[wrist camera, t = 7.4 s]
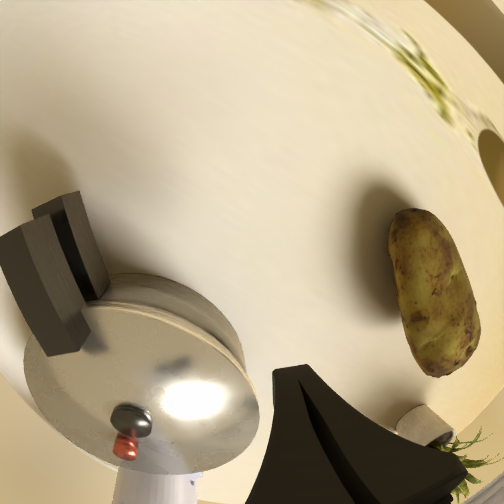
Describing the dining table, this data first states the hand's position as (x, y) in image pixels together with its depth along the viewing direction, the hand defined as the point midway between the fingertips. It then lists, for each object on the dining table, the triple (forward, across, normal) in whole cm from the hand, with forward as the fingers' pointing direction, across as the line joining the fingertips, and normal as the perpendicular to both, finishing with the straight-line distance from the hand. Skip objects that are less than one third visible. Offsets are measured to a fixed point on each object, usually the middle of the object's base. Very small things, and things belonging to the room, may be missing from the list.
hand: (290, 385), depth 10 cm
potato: (+11, -13, +2) cm, 17 cm away
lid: (+5, +10, +4) cm, 12 cm away
